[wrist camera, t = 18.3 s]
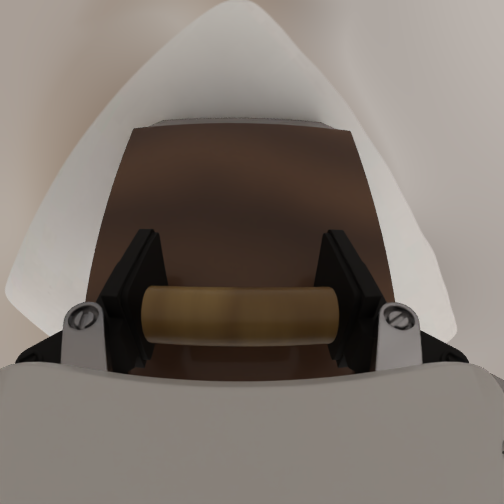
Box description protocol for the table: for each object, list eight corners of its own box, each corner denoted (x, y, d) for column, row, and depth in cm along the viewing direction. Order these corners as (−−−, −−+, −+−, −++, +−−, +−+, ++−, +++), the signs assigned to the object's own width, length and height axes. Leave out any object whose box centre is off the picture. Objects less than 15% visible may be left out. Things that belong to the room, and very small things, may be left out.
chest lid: (394, 380, 11) (474, 369, 6) (86, 379, 10) (8, 368, 5) (347, 139, 17) (370, 74, 12) (136, 136, 17) (116, 70, 12)
